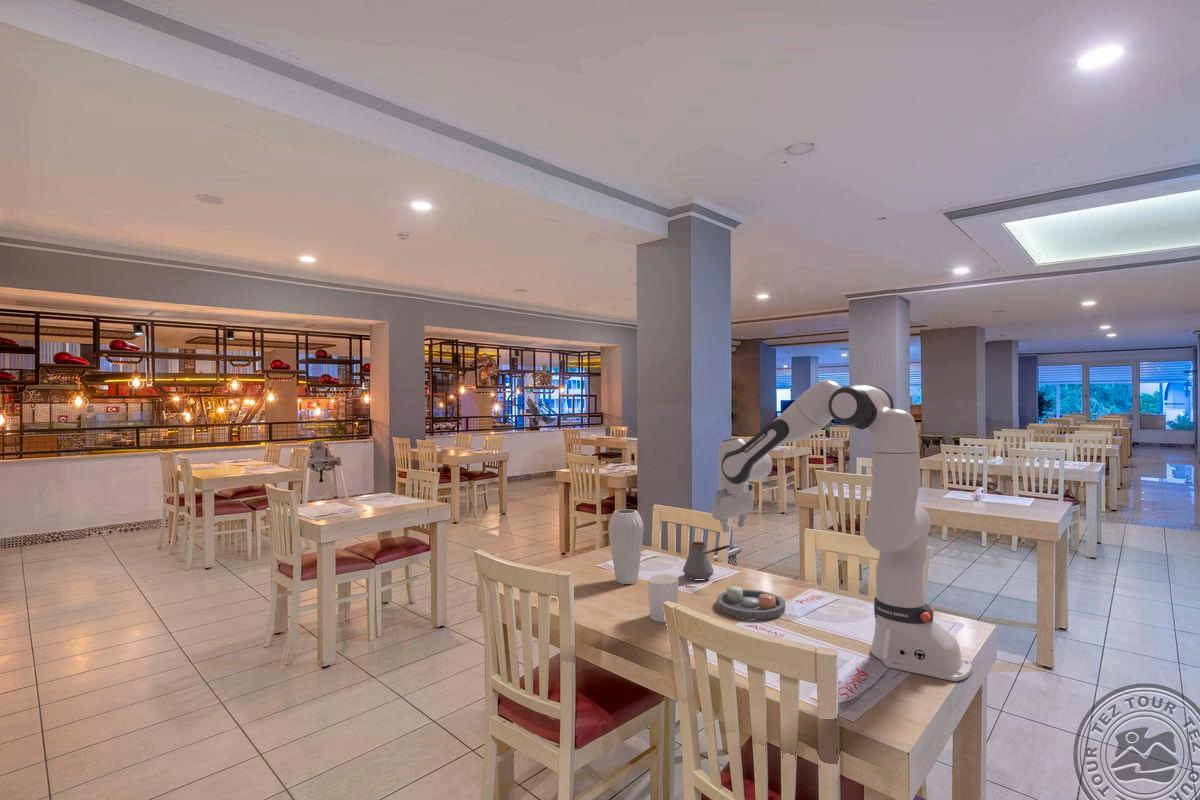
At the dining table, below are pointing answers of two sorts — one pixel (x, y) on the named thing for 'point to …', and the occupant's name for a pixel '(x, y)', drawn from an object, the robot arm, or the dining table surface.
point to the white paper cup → (661, 594)
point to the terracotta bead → (766, 601)
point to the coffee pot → (699, 561)
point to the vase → (626, 544)
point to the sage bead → (734, 594)
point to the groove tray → (750, 611)
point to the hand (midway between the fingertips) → (733, 529)
